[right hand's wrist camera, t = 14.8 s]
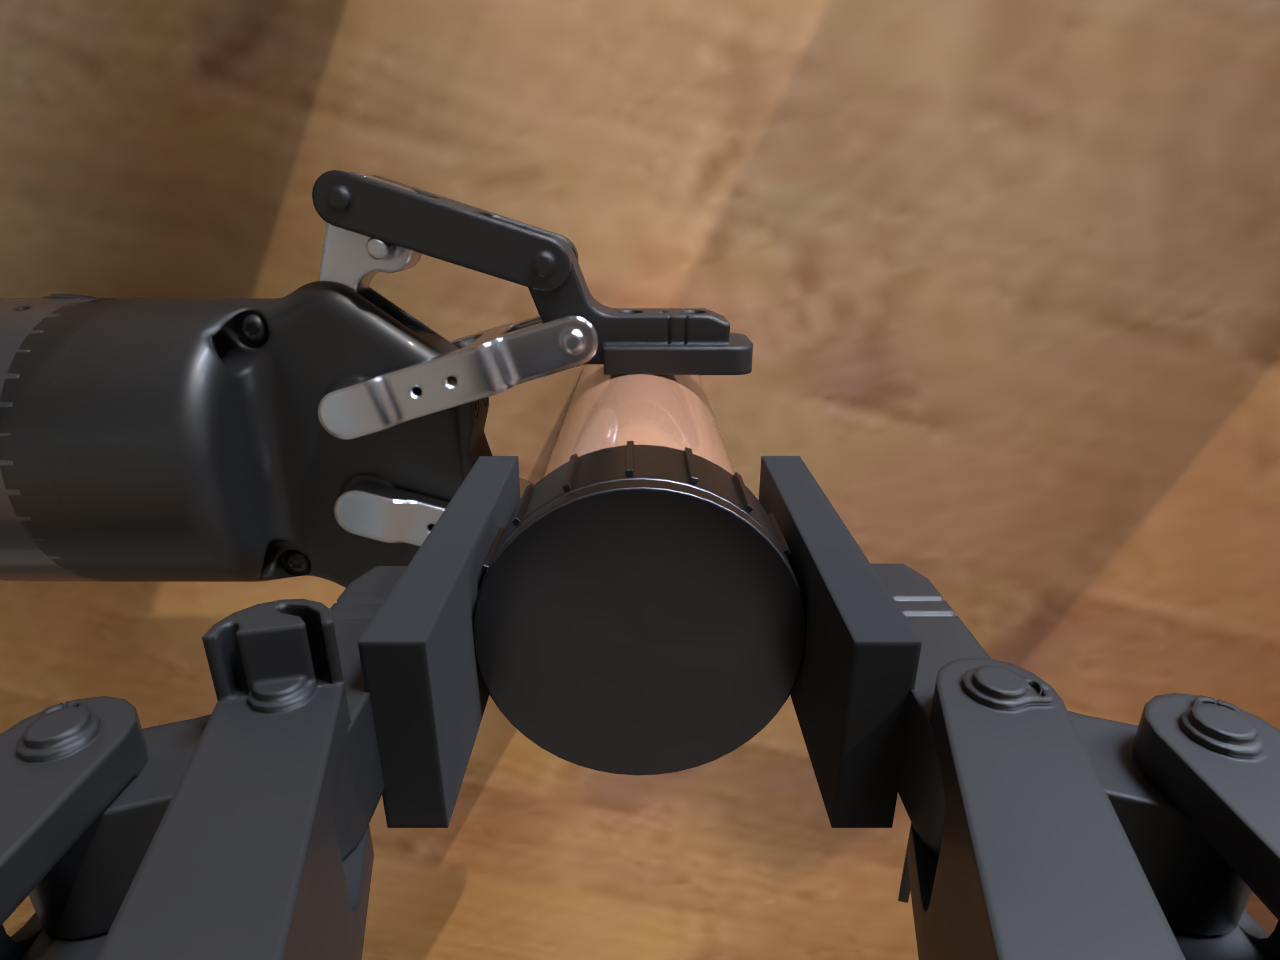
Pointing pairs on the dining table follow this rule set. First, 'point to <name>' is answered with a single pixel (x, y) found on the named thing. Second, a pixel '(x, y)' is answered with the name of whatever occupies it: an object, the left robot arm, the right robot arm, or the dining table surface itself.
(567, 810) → the dining table surface
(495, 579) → the lid
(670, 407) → the jar
